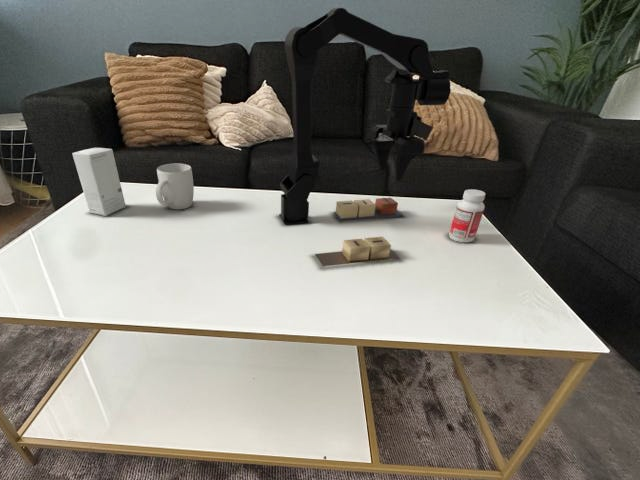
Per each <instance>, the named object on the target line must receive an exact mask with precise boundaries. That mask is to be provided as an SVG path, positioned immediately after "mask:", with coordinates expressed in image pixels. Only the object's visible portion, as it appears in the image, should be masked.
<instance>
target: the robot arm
mask: <svg viewBox="0 0 640 480" xmlns="http://www.w3.org/2000/svg"><path fill="white" fill-rule="evenodd" d="M339 35H340V36H341V37H344V38H346V39H348V40H351V41H353V42H355V43H356V44H357V43H358V44H360V45H362V46H364V47H366V48H368V49H371V50H373V51H375V52H376V53H379V54H381V55H382V56H383V57H385V59H386V60H388V62H389V63H391V64H392V65H394V66H395V67H396V68H397V69H399V70H403V71H407V73H400V71H399V70H397V69H393V70H392V71H391V73H390V74H388V75H387V76H386V77H385V78H384V81H385V82H386V83H389V84H392V88H391V95H390V102H389V108H388V109H387V108H386V109H385V115H386V116H387V122H386V124H375V125H374V126H373V127H372V128H370V135H369V137H370V138H371V142H372V143H373V147H374V150H375V153H376V157H377V161H378V165H379V169H380V171H385V170H386V168H387V165H388V161H389V157H390V153H391V150H392V148H393V147H394V151H392V155H393V166H394V177H395V181H396V182H400V181H401V180H402V179H403V176H404V174H405V172H406V170H407V169H408V166H409V165H410V163H411V161H412V160H413V159H415V158H416V157H419V156H421V154H424V153H425V150H426V144H427V143H426V141H428V139H429V136H430V135H431V133H432V131H433V129H434V126H433V125H430V124H428V123H426V122H423V121H422V120H423V119H422V118H423V117H421V116H419V115H418V112H417V111H415V105H416V101H417V104H418V105H419V106H444V105H445V104H446V103H447V102H448V100H449V98H450V95H451V91H452V90H451V80H450V74H451V73H450V71H449V70H438V71H434V69H433V67H432V63H431V61H430V58H429V53H430V51H429V44H428V43H427V42H426V40H425V39H423V38H422V39H421V38H417V37H411V36H406V35H401V34H396V33H392V32H391V31H389V30H386V29H384V28H382V27H380V26H379V25H375V24H374V23H372V22H370V21H368V20H365V19H363V18H362V17H359V16H357V15H355V14H353V13H351V12H349V11H348V10H347V9H346V8H343V7H334V8H332V9H330V10H328V12H326V13H325V14H324V15H322V16H320V17H319V18H317V19H315V20H313V21H311V22H309V23H308V24H306V25H305V26H294V27H293V28H291V29H290V30H289V31H288V32H287V34H286V36H285V39H284V50H285V54H286V61H287V66H288V70H289V74H290V79H291V83H292V84H291V93H292V94H291V95H292V97H291V98H292V137H293V138H292V139H293V140H292V143H293V144H292V146H293V149H292V154H291V157H290V160H289V166H288V167H289V168H288V173H287V175H285V177H284V178H283V179H282V180H281V182H279V187H280V189H281V191H282V192H283V194H280V213H279V214H278V215H279V218H280V220H281V222H282V223H283V224H284V225H297V224H307V223H309V219H308V218H309V213H310V212H309V211H310V202H309V201H308V199H309V196H310V194H311V192H312V191H313V190H314V189H315V188H316V186H317V183H318V180H320V176H319V168H320V160H319V159H317V158H316V156H315V155H313V153H312V84H313V83H312V82H313V77H314V75H315V70H316V67H317V63H318V56H319V51H320V50H321V49H322V48H324V47H326V46H327V45H328V44H329V43H330V42H332V41H333V40H334V39H335V38H336V37H337V36H339ZM413 76H417V77H418V78H414V77H413Z"/></svg>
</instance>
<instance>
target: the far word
mask: <svg viewBox="0 0 640 480" xmlns="http://www.w3.org/2000/svg"><path fill="white" fill-rule="evenodd" d="M375 206H376V205H375V202H373V201H372V200H371V199H369V198H365V199H354V200H352V199H351V200H338V201H336V202H335V211H333V215H334V216H335V217H336V218H337V220H338V221H340V222H351V221H363V220H376V219H381V220H382V219H391V218H403V216H404V214H403V213H402V212H400V211H399V210H398V209H397V211H396V214H390V215H380V214H379V213H378V212H377V211H376V210H375Z"/></svg>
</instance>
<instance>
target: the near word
mask: <svg viewBox="0 0 640 480" xmlns="http://www.w3.org/2000/svg"><path fill="white" fill-rule="evenodd" d="M391 248H392V244H391V243H390V242H389V241H388V240H387V239H386V238H385V237H384V236H376V237H374V236H373V237H364V239H363V238H354V239H353V238H352V239H343V240H342V248H341V251H332V252H321V253H315V254H314V256H315V257H316V258H317V260H318V262H319V263H320V265H322V267H328V266H329V267H330V266H337V265H338V266H339V265H348V264H359V263H367V262H377V261H387V260H396V259H400V257H399V256H398V255H397V254H396V253H395V252H394V251H393V250H392V249H391Z"/></svg>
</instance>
